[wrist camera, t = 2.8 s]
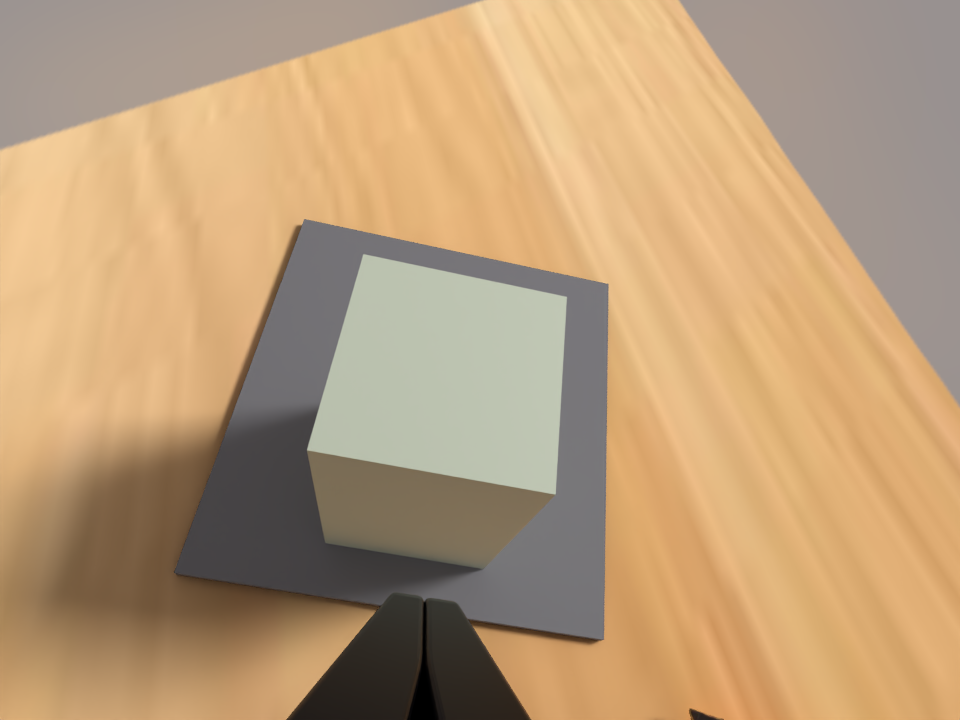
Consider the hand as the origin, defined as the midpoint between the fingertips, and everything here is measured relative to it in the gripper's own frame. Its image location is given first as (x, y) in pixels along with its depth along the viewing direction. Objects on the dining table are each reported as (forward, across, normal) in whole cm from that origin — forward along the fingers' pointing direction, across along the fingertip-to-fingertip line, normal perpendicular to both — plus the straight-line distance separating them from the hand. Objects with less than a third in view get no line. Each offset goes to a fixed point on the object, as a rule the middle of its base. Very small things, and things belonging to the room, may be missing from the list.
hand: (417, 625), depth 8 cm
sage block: (+12, 0, +4) cm, 12 cm away
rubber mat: (+14, 0, +2) cm, 14 cm away
